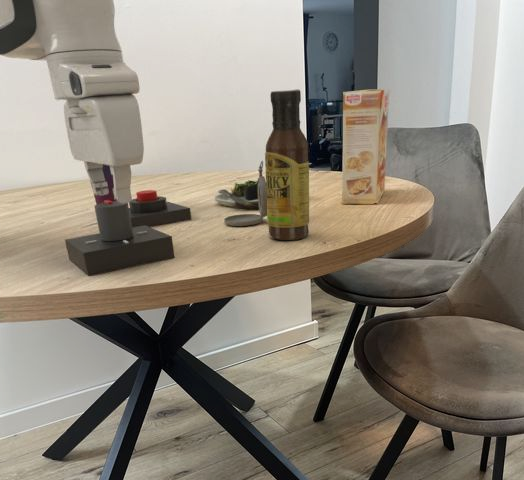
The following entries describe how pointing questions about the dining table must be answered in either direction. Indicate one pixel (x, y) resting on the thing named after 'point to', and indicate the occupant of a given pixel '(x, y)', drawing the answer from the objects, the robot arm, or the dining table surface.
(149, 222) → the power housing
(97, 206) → the timer knob
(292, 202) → the sauce bottle
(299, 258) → the dining table surface
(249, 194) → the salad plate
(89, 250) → the panel
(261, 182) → the pocket watch
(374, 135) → the coffeecake box
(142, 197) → the power button
